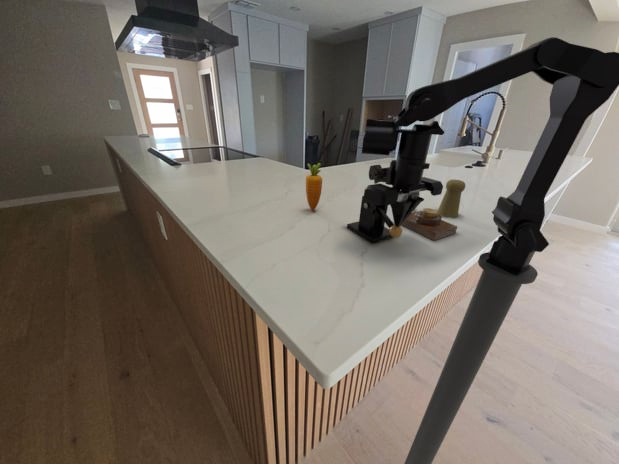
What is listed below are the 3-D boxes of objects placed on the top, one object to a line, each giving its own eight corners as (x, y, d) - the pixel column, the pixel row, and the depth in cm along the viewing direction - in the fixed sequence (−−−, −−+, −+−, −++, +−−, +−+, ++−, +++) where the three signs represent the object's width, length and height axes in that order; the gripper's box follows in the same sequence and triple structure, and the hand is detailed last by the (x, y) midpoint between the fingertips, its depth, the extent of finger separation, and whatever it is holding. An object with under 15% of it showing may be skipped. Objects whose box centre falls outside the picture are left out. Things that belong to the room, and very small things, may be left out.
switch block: (455, 233, 69) (459, 220, 67) (433, 240, 64) (437, 226, 63) (418, 217, 78) (421, 205, 76) (397, 223, 74) (400, 210, 72)
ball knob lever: (400, 238, 61) (407, 230, 59) (391, 241, 59) (398, 233, 57) (373, 203, 67) (378, 195, 64) (364, 205, 65) (369, 196, 63)
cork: (442, 209, 85) (451, 176, 81) (460, 214, 81) (471, 181, 76) (433, 213, 82) (442, 179, 77) (452, 219, 78) (463, 184, 73)
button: (438, 217, 69) (440, 211, 68) (429, 219, 67) (431, 213, 67) (427, 213, 72) (428, 207, 71) (418, 215, 70) (420, 209, 69)
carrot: (301, 210, 80) (302, 162, 74) (313, 206, 83) (315, 160, 77) (311, 214, 77) (313, 165, 70) (323, 211, 80) (326, 163, 73)
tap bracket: (395, 237, 66) (402, 201, 61) (371, 243, 62) (377, 206, 58) (368, 222, 73) (373, 189, 69) (346, 227, 70) (350, 193, 65)
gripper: (410, 149, 63) (398, 208, 69) (351, 153, 54) (344, 220, 61) (452, 156, 54) (434, 223, 61) (390, 162, 45) (376, 239, 52)
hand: (397, 225), depth 59 cm, fingers closed, pressing on ball knob lever
